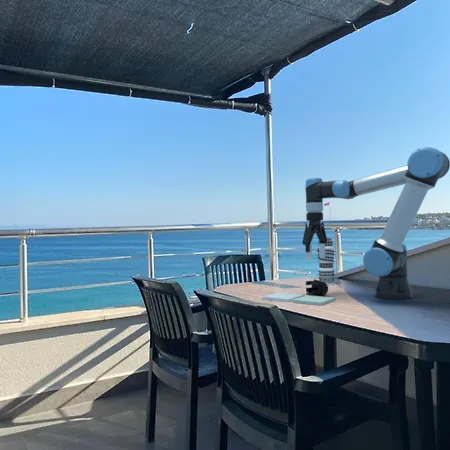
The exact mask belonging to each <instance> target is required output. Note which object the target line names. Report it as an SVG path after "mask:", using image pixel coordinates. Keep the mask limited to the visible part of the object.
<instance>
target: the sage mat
mask: <svg viewBox="0 0 450 450" xmlns="http://www.w3.org/2000/svg"><path fill="white" fill-rule="evenodd" d="M335 301H336V297H330V296H323V297H321V296H310V295H307V294H306V295H305V296H304V295H303V297H300V298H296V299H293V300H292V301H291V302H292V303H294V304H304V305H305V304H306V305H313V306H325V305H327V304H330V303H333V302H335Z"/></svg>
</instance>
